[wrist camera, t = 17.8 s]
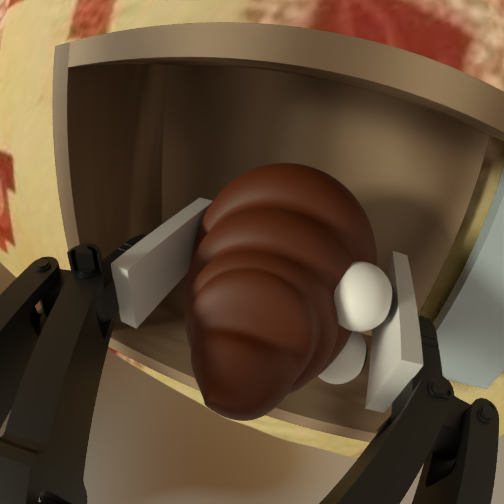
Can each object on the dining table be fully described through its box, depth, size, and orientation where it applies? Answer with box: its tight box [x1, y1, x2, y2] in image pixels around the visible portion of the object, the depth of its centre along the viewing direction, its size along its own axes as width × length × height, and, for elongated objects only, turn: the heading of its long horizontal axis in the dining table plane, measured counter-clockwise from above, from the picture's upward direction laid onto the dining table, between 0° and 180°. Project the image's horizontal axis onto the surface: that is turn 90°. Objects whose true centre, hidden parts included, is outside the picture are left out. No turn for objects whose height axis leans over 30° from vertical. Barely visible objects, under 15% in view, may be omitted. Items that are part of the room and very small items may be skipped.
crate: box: [53, 22, 504, 442], centre depth 15 cm, size 20×18×9 cm
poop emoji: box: [185, 163, 394, 421], centre depth 11 cm, size 10×8×9 cm
